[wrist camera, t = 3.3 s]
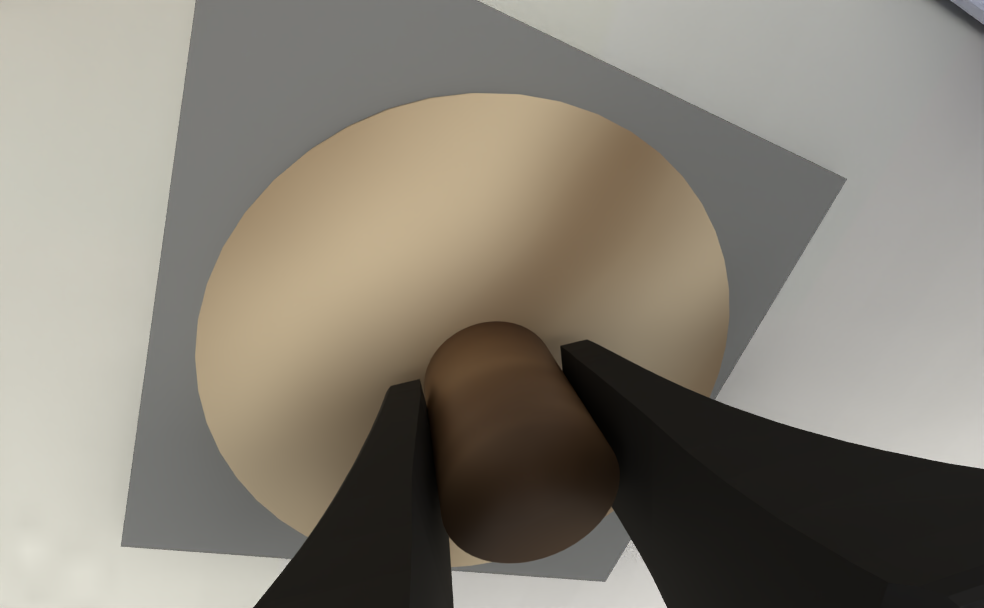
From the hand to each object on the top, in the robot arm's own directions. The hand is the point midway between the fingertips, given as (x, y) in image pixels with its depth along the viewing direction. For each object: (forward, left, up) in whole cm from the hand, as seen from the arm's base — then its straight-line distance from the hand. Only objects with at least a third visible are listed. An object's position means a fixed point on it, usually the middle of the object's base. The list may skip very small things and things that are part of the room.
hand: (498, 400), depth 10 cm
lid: (0, 0, -2) cm, 2 cm away
